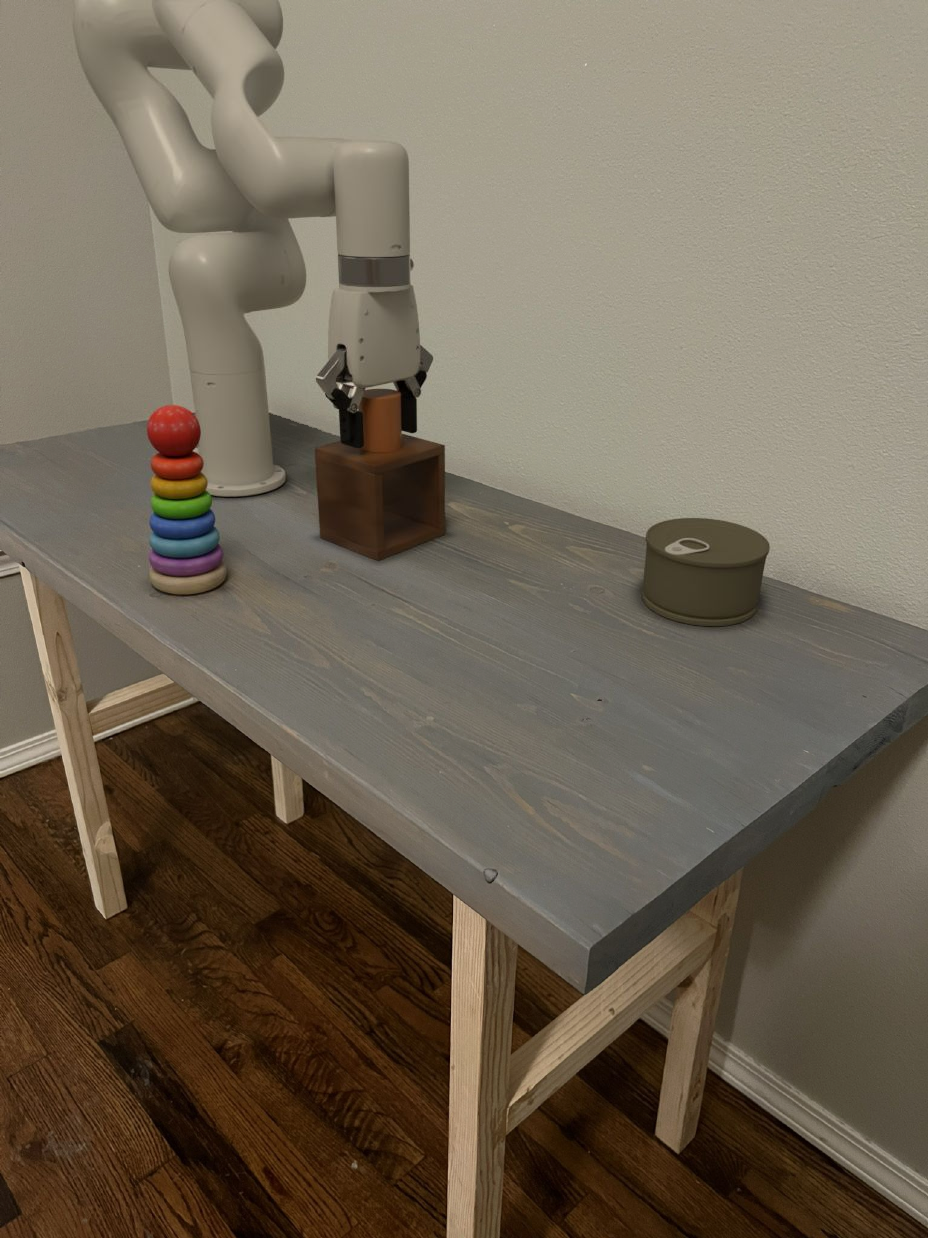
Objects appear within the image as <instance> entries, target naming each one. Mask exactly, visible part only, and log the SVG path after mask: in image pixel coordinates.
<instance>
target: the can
mask: <svg viewBox="0 0 928 1238" xmlns="http://www.w3.org/2000/svg"><path fill="white" fill-rule="evenodd" d="M645 543H646V549H645V558H644V559H645V560H644V569H643V570H644V571H643V580H642V581H643V582H642V589H641V600H642V602H643V604H644V605H645V606H646V607H647V608H648V609H649V610H650V611H652V612H654V614H657V615H659V616H660V617H662V618H665V619H668V620H671V621H674V622H678V623H681V624H685V625H691V626H698V627H699V626H700V627H727V626H733V625H738V624H741V623H743V622H746V621H748V620H750V619H752V617H754V615H756V612H757V611H758V604H759V599H760V593H761V587H762V582H763V577H764V571H765V567H766V566H765V565H766V561H767V557H768V555H769V552H770V543H769V541H768V539H767V538H766V537H765V536H764V535H762V534H761V533H759V532H758V531H756V530H754V529H752V528H750V527H749V526H748V527H747V526H745V525H742V524H739V523H735V522H730V521H726V520H721V519H714V518H707V517H706V518H705V517H680V518H673V519H667V520H664V521H663V520H662V521H660V522H657V523H656V524H653V525H651V526H650V527H649V528H648V529H647V531H646V533H645Z"/></svg>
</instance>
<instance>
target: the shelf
mask: <svg viewBox="0 0 928 1238" xmlns="http://www.w3.org/2000/svg"><path fill="white" fill-rule="evenodd" d="M314 463H315V464H314V465H315V478H316V479H315V480H316V492H317V494H316V495H317V509H318V524H319V538H320V539H322V540H324V541H326V542H329V543H331V544H334V545H337V546H340V547H343V548H345V549H347V550H350V551H353V552H355V553H358V554H360V555H361V556H364V557H368V558H370V559H372V560H375V561H377V562H379V561H381V560H384V559H386V558H389V557H391V556H394V555H396V554H400V553H401V552H404V551H406V550H409V549H411V548H414V547H417V546H419V545H422V544H424V543H427V542H430V541H431V540H435V539H437V538H440V537H443V536H444V535H446V445H445V444H442V443H438V442H435V441H431V440H427V439H424V438H420V437H418V436H413V435H409V434H406V433H402V447H401V448H400V449H398V450H396V451H391V452H369V451H365V450H362V449H361V448H359V449H358V448H354V447H351V446H348V445H344V444H342V443H341V440H337V441H334V442H333V441H332V442H329V443H327V444H322V445H319V446H315V447H314Z"/></svg>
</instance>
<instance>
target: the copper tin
mask: <svg viewBox="0 0 928 1238" xmlns="http://www.w3.org/2000/svg"><path fill="white" fill-rule="evenodd" d="M357 411H360V412H362V414H363V433H364V445H363V447H362V448H361V449H362V450H365V451H369V452H391V451H396V450H398V449H400V448H401V447H402V434H403V431H402V420H401V393H400V392H399V391H397V389H392V388H369V389H368V388H367V389H365V391H364V394H363V397H362V399H361V402H360V405H359V407H358V410H357Z"/></svg>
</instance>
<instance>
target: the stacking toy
mask: <svg viewBox="0 0 928 1238" xmlns="http://www.w3.org/2000/svg"><path fill="white" fill-rule="evenodd" d="M146 434H147V438H148V441H149V443H150V444H151V446H152V448H153V449H154V450H155V451H156V452H157V453H155V454H154V455H153V456H152V457H151V460H150V468H151V471H152V472H153V474H154V475H153V476H152V477H151V479H150V489H151V490H152V492H153V493H154V494H153V495H152V496H151V499H150V507H151V510H152V511H153V513H152V514H151V515H150V517H149V521H148V522H149V523H148V524H149V528H150V530H151V533H150V535H149V539H148V541H149V542H148V543H149V546H150V548H151V549H150V551H149V554H148V562H149V564H150V566H151V567H150V569H149V572H148V580H149V582H150V583H151V585H152V586H153V587H154V589H157V590H159V591H160V592H163V593H165V594H166V593H167V594H171V595H196V594H200V593H204V592H207V591H210V590H213V589H215V588H217V587H218V586H220V585H221V584H222V583H223V582H224V581H225V579H226V578H227V574H228V569H227V565H226V563H225V562H224V560H223V559H224V549H223V548H222V546H221V544H220V539H221V538H220V532H219V530H218V529H217V527H216V526H215V524H216V515H215V512H214V511H213V510H212V508H211V507H212V505H213V496H212V495H210V493H209V492H208V491H206V488H207V485H208V481H207V478H206V476H205V475H204V474H203V473H202V472H201V471H202V469H203V465H204V463H203V459H202V457H201V456H200V455H199V454H198V453H196V452H194V451H193V450H194V449H195V448H197V447H198V446H199V440H200V436H201V429H200V425H199V422H198V420H197V418H196V416H195V413H193V411H191V410H190V409H188V408H186V407H184V406H181V405H178V404H169V405H168V404H167V405H163V406H160V407H159V408H158V409H157V408H156V409H155V410H154V411H153V412H152V413H151V415H149V418H148V421H147V424H146Z"/></svg>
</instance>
